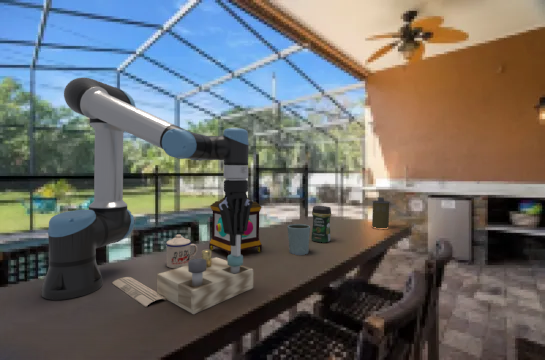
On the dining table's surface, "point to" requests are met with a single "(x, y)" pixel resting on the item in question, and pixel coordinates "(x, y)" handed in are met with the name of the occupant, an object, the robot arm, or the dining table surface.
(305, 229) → the blue cup
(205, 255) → the brass post
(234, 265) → the teal knob
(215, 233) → the decorative lantern
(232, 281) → the mount
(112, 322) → the dining table surface
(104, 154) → the robot arm
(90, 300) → the dining table surface
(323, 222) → the coffee jar
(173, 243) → the teacup with lid
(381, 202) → the canister
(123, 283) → the newspaper
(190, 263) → the grey knob
